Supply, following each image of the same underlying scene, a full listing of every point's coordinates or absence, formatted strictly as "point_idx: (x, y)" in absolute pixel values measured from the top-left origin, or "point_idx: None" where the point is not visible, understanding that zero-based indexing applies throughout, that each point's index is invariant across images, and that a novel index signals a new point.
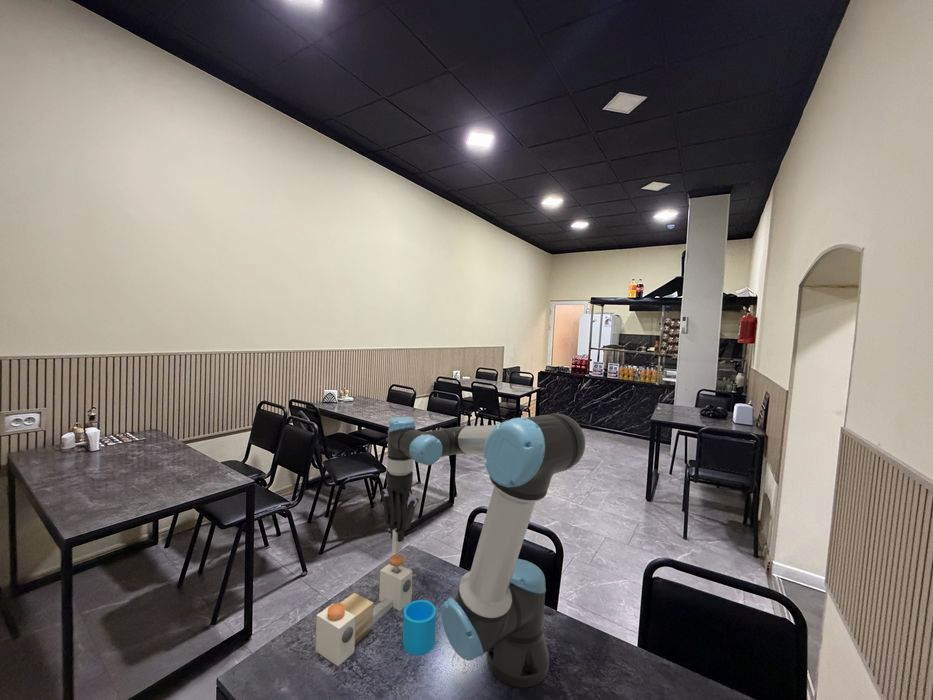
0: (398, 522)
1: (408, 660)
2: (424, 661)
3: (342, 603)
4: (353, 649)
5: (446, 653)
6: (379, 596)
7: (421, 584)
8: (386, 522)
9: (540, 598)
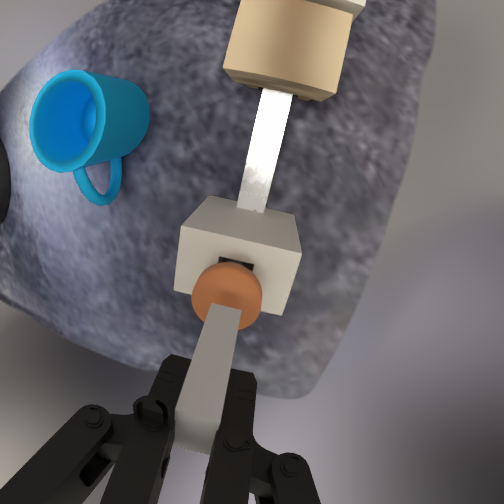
0: (136, 477)
1: (112, 63)
2: None
3: (339, 27)
4: None
5: None
6: (294, 218)
7: None
8: (295, 472)
9: None
